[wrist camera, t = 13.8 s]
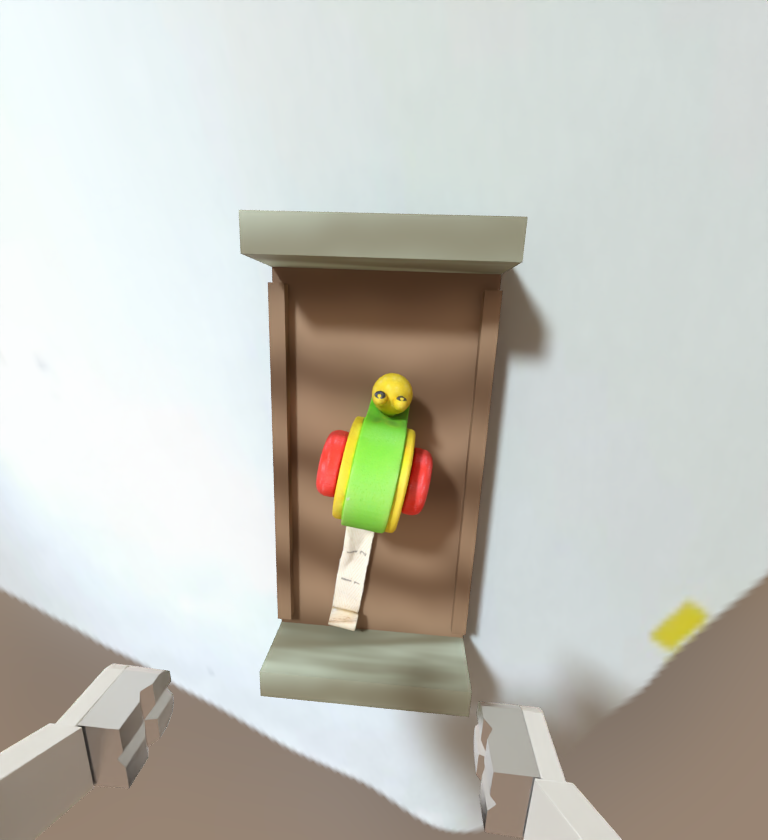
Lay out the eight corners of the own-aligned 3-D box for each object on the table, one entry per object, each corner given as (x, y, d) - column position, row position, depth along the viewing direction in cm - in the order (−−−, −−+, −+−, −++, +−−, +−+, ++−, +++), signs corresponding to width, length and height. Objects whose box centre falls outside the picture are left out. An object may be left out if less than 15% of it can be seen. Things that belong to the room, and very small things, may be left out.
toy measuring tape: (447, 380, 25) (459, 398, 18) (383, 626, 30) (375, 709, 23) (350, 358, 25) (329, 369, 18) (302, 607, 30) (271, 684, 23)
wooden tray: (279, 237, 25) (238, 209, 19) (499, 243, 24) (527, 216, 18) (288, 628, 32) (260, 695, 26) (458, 643, 31) (468, 716, 25)
